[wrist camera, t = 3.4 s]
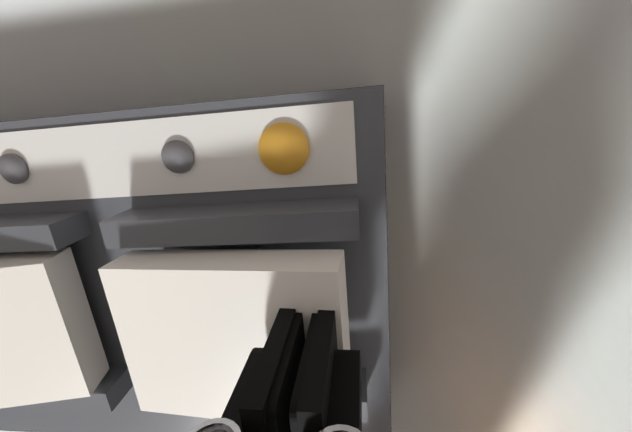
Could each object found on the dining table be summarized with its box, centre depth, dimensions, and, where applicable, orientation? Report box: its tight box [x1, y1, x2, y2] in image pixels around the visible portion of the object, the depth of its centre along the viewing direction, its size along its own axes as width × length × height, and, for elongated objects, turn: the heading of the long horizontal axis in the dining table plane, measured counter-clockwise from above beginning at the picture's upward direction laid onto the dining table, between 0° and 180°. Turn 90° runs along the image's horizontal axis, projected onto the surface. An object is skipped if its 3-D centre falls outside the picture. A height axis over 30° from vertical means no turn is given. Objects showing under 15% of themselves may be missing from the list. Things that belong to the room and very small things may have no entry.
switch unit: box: [0, 85, 391, 432], centre depth 16 cm, size 22×16×6 cm
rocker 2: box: [98, 249, 350, 419], centre depth 12 cm, size 8×6×2 cm
